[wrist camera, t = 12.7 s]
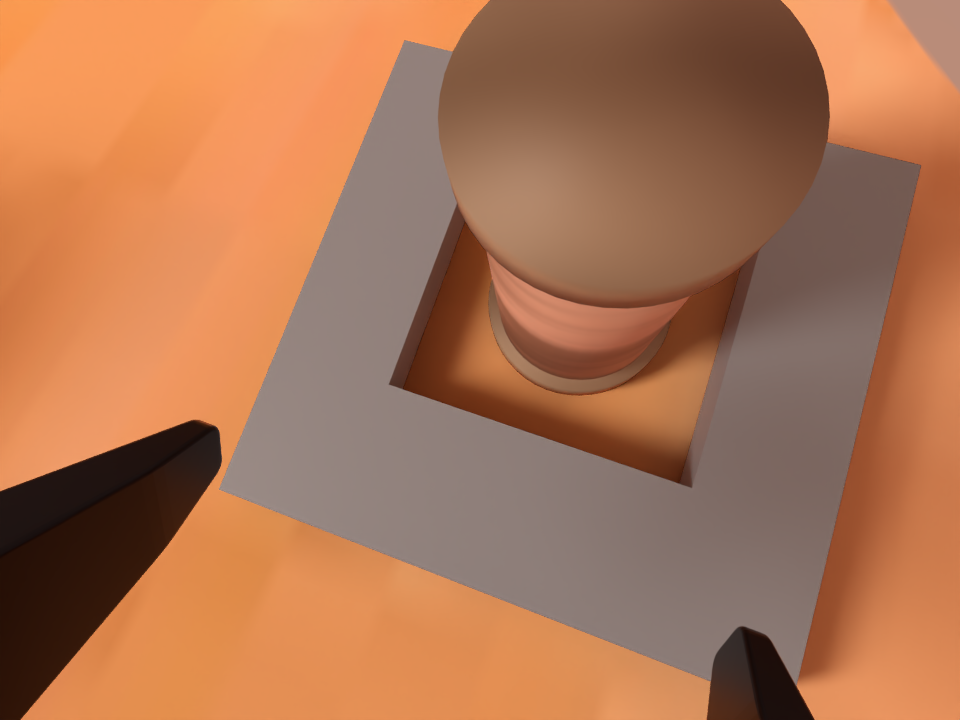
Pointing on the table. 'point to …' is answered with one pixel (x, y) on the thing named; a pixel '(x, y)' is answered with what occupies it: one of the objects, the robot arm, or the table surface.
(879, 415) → the table surface
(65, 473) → the robot arm
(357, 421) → the gray square frame
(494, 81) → the cord spool
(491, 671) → the table surface
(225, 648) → the table surface
